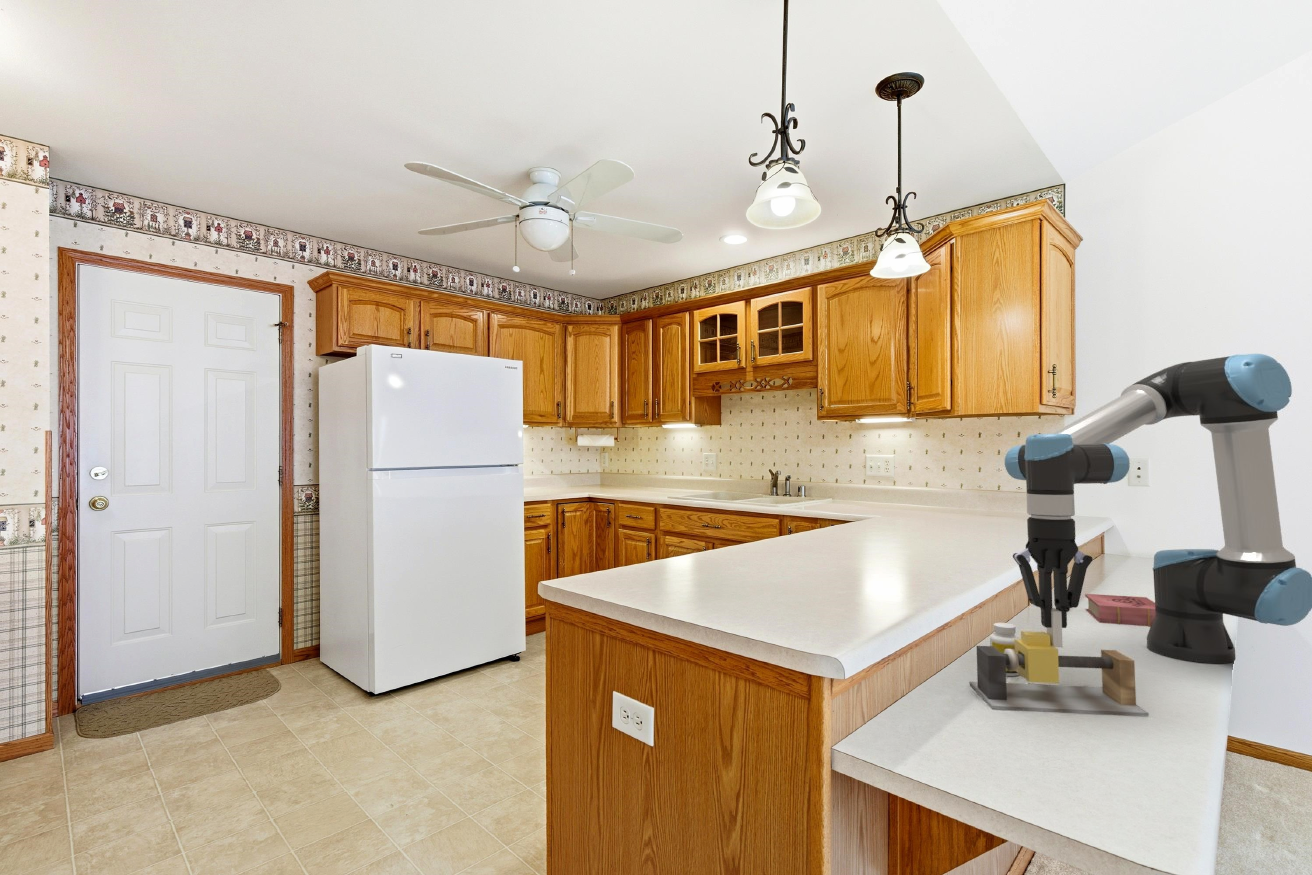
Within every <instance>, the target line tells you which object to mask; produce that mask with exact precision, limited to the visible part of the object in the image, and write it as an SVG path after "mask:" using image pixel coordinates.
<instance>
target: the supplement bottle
mask: <svg viewBox="0 0 1312 875" xmlns="http://www.w3.org/2000/svg"><path fill="white" fill-rule="evenodd" d="M1016 629H1017V628H1016V625H1014V624H1012V623H1007V622H995V623H993V632H994V633H992V634H990V637H989V646H994V647H995V648H996V649H997V650H998V651H1000V652H1001V653H1002V654H1004V650H1005V649H1014V650H1015V640H1014V639H1020V638H1019V637H1018V636H1017V635H1015V634H1016V633H1017V632H1016ZM1019 676H1021V675H1020V674H1019V673H1017V672H1016V671H1013V670H1008V669H1007V668H1006V677H1019Z"/></svg>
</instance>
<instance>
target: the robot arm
mask: <svg viewBox="0 0 1312 875" xmlns="http://www.w3.org/2000/svg"><path fill="white" fill-rule="evenodd" d="M1292 391H1293V389H1292V383H1291V379H1290V376H1289V374H1288V372H1287V370H1286V369H1285V368H1284V366H1283V365H1282V364H1281V363H1280V362H1278V361H1277V359H1275V358H1273V357H1271V356H1270V355H1267V354H1263V353H1248V354H1234V355H1230V356H1223V357H1215V358H1209V359H1203V360H1195V361H1186V362H1181V363H1177V364H1173V365H1171V366H1168V367H1165V368H1163V369H1160V370H1158V371H1156V372H1154V373H1152V374H1149V375H1147V376H1146V377H1144V378H1142V379H1140V380H1138V381H1136V382H1135V383H1133V384H1131V385H1128V386H1127V387H1126V388H1124V389H1123V391H1121V394H1120V396H1118V397H1117V398H1115V399H1114V400H1111V401H1110V402H1108V403H1106V404H1104V405H1102V406H1100V407H1099V408H1096V409H1094V410H1093V411H1091V412H1089V413H1088V414H1085V415H1084V416H1082V417H1080V418H1079V419H1077V420H1074V421H1073V422H1071V423H1070V424H1067V425H1065V426H1064V427H1062V428H1060V429H1059V430H1057V431H1054V432H1053V433H1036V434H1035V433H1034V434H1030V435H1028V436H1027V437H1026V439H1025V444H1021V445H1015V446H1012V447H1011V448H1009V450H1008V451H1007V452H1006V453H1005V457H1004V467H1005V470H1006V472H1007V474H1008V475H1009V476H1010V477H1011V478H1013V479H1015V480H1018V481H1019V480H1020V481H1025V483H1026V485H1025V486H1026V513H1027V514H1028V515H1029V517H1028V518H1027V519H1026V521H1027V539H1028V540H1027V542H1026V544H1025V549H1024V550H1022V551H1020V552H1019V553H1017V552H1015V553H1013V554H1012V558H1013V560H1014V561H1015V562H1016V564H1017V565H1018V568H1019V571H1020V574H1021V577H1022V581H1023V584H1024V585H1023V586H1024V588H1025V592H1026V594H1027V598H1028V602H1029V604H1031V605H1033V606H1035V607H1037V608H1040V618H1041V619H1040V622H1041V625H1042V626H1043V627H1044V628H1046V633H1047V634H1048V635H1050V645H1052V646H1053V647H1055V648H1061V649H1062V648H1064V647H1063V629H1066V628H1067V626H1068V620H1067V619H1068V618H1067V616H1068V614H1067V613H1068V612H1070V609H1072V608H1078V607H1079V604H1080V600H1081V595H1082V591H1083V586H1084V582H1085V579H1086V575H1087V574H1086V573H1087V569H1088V567H1089V566H1090V565H1091V563H1092V562H1093V559H1094V558H1093V557H1092V556H1091V555H1088V554H1085V553H1083V552H1081V550H1080V549H1079V547H1078V544H1077V542H1076V520H1075V518H1073V516H1075V515H1076V510H1075V508H1076V507H1075V485H1076V484H1078V485H1079V484H1087V485H1088V484H1091V485H1092V484H1101V485H1102V484H1103V485H1106V484H1110V483H1111V484H1112V483H1118V482H1119V481H1122V480H1123V479H1125V477H1126V476H1127V474H1128V473H1129V471H1130V464H1131V463H1130V457H1129V455H1128V453H1127V452H1126V450H1124V448H1122V447H1121V446H1119V445H1117V444H1111V443H1114V442H1115V441H1117V440H1119V439H1121V438H1122V437H1124V436H1125V435H1128V434H1129V433H1131V432H1133V431H1136V429H1138V428H1140V427H1142V426H1145V425H1146V426H1147V425H1148V426H1149V425H1155V424H1158V423H1159V422H1161V421H1163V420H1167V419H1170V418H1177V417H1184V416H1185V417H1187V416H1188V417H1189V416H1190V417H1191V416H1193V417H1194V416H1199V423H1200V426H1201V427H1203V428H1205V429H1206V430H1208V431H1209V432H1210V433H1211V440H1212V441H1211V442H1212V448H1213V449H1212V450H1213V458H1214V464H1215V474H1216V483H1217V490H1218V497H1219V505H1220V507H1219V508H1220V515H1221V523H1222V531H1223V540H1224V546H1223V547H1222V548H1221V549H1220V550H1219V549H1214V548H1213V549H1212V548H1203V549H1202V548H1188V549H1187V548H1183V549H1182V548H1180V549H1163V550H1159V551H1157V552H1156V553H1155V554H1154V556H1153V567H1152V571H1153V586H1154V588H1153V589H1154V590H1153V591H1154V602H1155V617H1154V619H1153V622H1152V624H1151V626H1150V627H1149V629H1148V632H1147V635H1146V648H1148V650H1150V651H1152V652H1154V653H1156V654H1159V655H1163V656H1165V657H1171V658H1173V659H1178V660H1183V661H1184V660H1185V661H1190V662H1197V663H1207V664H1226V663H1227V664H1229V663H1233V662H1235V661H1236V649H1235V646H1234V643H1233V640H1232V639H1231V636H1230V635H1229V632H1228V630H1227V627H1226V625H1225V623H1224V622H1225V621H1224V615H1228V616H1233V617H1238V618H1243V619H1247V620H1250V621H1256V622H1259V623H1261V624H1265V625H1266V624H1271V625H1277V626H1283V627H1285V626H1286V627H1287V626H1288V627H1289V626H1293V625H1296V624H1299V623H1301V621H1302V620H1304V619H1305V618H1306V617H1307V616H1308V615H1309V613H1310V612H1311V610H1312V574H1311V573H1310V571H1307V570H1306V569H1303V568H1302V567H1297V563H1296V556H1295V555H1294V553H1292V552H1291V551H1289V550H1287V549H1286V548H1285V547H1284V545H1283V536H1282V528H1281V521H1280V512H1279V511H1280V510H1279V504H1278V496H1277V488H1276V487H1277V486H1276V478H1275V470H1274V463H1273V454H1272V448H1271V446H1272V445H1271V439H1270V438H1271V437H1270V431H1269V429H1270V427H1271V426H1272V425H1273V424H1274V423H1275V422H1277V421H1278V420H1279V418H1278V411H1280V410H1283V409H1284V408H1285V407H1287V406H1288V404H1289V403H1290V398H1291V397H1292V394H1293V393H1292ZM1031 558H1032V559H1033V561H1034V563H1036V569H1037V572H1038V586H1037V583H1036V582H1037V581H1036V578H1035V575H1034V572H1033V569H1032V566H1031V564H1030V562H1031ZM1071 561H1073V564H1072V567H1071V573H1070V578H1069V581H1068V578H1067V576H1068V572H1069V568H1068V566H1069V564H1070V563H1071ZM1052 575H1053V576H1052ZM1052 578H1053V579H1052ZM1052 580H1053V581H1052ZM1053 596H1054V597H1053ZM1053 603H1054V606H1055V607H1053Z"/></svg>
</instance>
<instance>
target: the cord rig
mask: <svg viewBox="0 0 1312 875" xmlns="http://www.w3.org/2000/svg"><path fill="white" fill-rule="evenodd" d="M1100 650H1101V651H1100V654H1101V655H1100V656H1084V655H1083V656H1080V655H1058V665H1059V668H1075V669H1076V668H1079V669H1099V670H1100V669H1101V682H1102V683H1101V684H1102V685H1101V686H1093V685H1092V686H1090V685H1064V684H1062V685H1061V684H1044V683H1039V684H1037V683H1019V682H1018V683H1015V682H1014V683H1012V682H1007V676H1006V668H1007V669H1008V670H1013V671H1017V670H1018V667H1019V666H1025V655H1024V654H1017V653H1016V651H1015V650H1014V649H1005V650H1004V654H1002V653H1001V652H1000V651H998V650H997V649H996V648H995V647H994V646H990V645H976V671H977V672H976V673H977V676H976V677H977V678H976V679H977V681H969V686H971V687H972V689H973V690H974V691H975V692H976V693H977V694H978V695H979V696H980V697H981V698H982V700H983V701H984V702H985V703H986V704H987V705H988V706H989V707H990V708H991V710H1003V711H1004V710H1005V711H1023V712H1024V711H1025V712H1027V711H1028V712H1042V713H1043V712H1047V713H1064V714H1065V713H1066V714H1068V713H1070V714H1088V715H1089V714H1090V715H1091V714H1093V715H1107V716H1109V715H1110V716H1111V715H1112V716H1131V717H1132V716H1134V717H1149V715H1150V714H1149V712H1147V711H1146V710H1145V709H1144V708H1142V707H1140V706H1139V705H1137V696H1136V695H1137V694H1136V693H1137V692H1136V691H1137V690H1136V672H1135V671H1136V669H1135V667H1136V666H1135V660H1134V659H1132V658H1131V657H1129V656H1127V655H1125V654H1123V653H1121V652H1119V651H1118V650H1116V649H1100Z"/></svg>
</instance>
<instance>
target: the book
mask: <svg viewBox="0 0 1312 875" xmlns="http://www.w3.org/2000/svg"><path fill="white" fill-rule="evenodd" d="M1084 596H1085V598H1086V599H1088V601H1087V604H1088V608H1085V611H1086V612H1088V614H1090V615H1091V616H1092V617H1093V618H1094V619H1095V620H1096V621H1097V622H1099V624H1100V623H1101V624H1113V625H1114V624H1115V625H1125V626H1126V625H1128V626H1140V627H1141V626H1142V627H1143V626H1144V627H1149V628H1150V627H1151V624H1152V622H1153V619H1154V617H1155V601H1153V600H1152V599H1150V598H1148V597H1147V596H1146V597H1145V596H1132V595H1131V596H1128V595H1116V594H1115V595H1113V594H1095V593H1094V594H1093V593H1085V594H1084Z"/></svg>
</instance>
